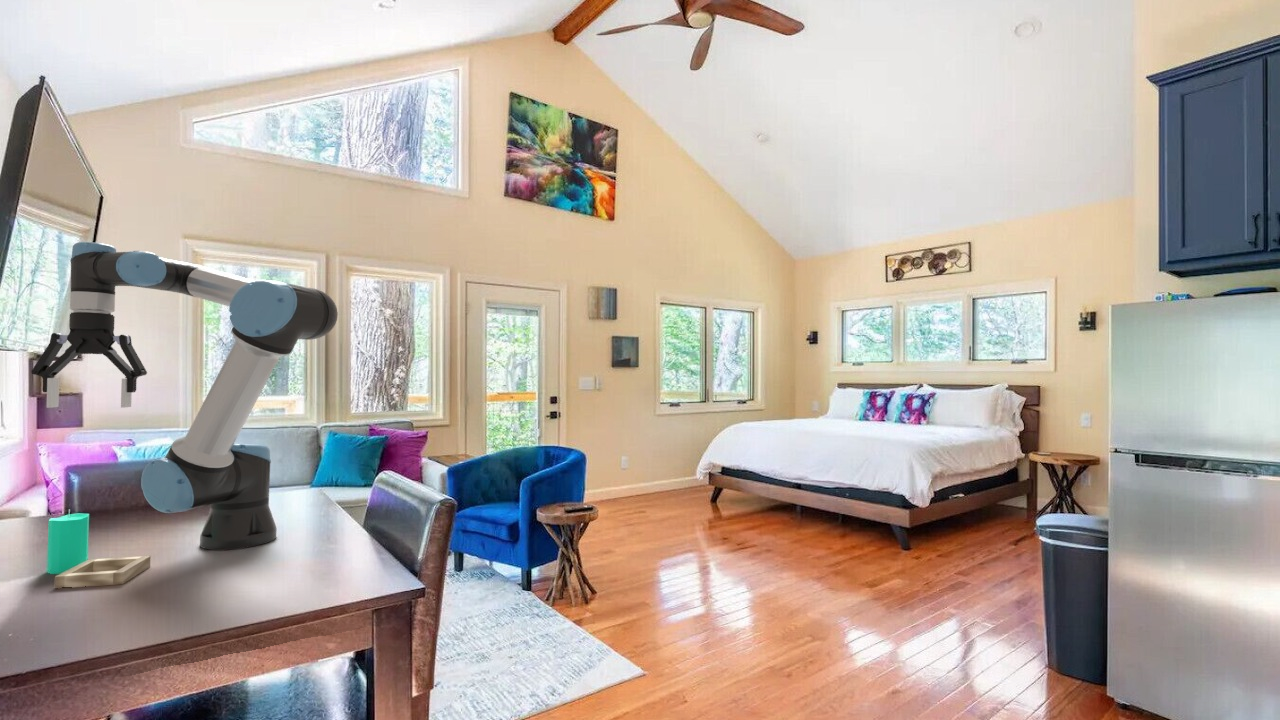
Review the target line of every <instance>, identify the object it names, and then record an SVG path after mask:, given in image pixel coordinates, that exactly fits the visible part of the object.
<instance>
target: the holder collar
mask: <svg viewBox="0 0 1280 720" xmlns="http://www.w3.org/2000/svg"><path fill="white" fill-rule="evenodd" d="M151 557H152V556H151V555H146V556H145V555H144V556H143V555H142V556H125V557H107V558H92V559H89V558H88V560H87V561H85V562H83V563H81V564H79V565H77V566H75V567H73V568H71V569H69V570H67V571H65V572H63V573H61V574H56V575H55V576H54V583H53V584H54V586H53V587H54V588H58V589H63V588H62V587H72V588H83V587H85V586H86V587H97V586H98V587H100V586H101V587H102V586H113V585H114V586H115V585H123V584H125V583H127V582H128V581H129V580H132V579H133V578H135V577H136V576H138V575H139V574H141V573H144V571H146V570H147V569H149V568H150V567H151Z"/></svg>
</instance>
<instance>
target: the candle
mask: <svg viewBox="0 0 1280 720" xmlns="http://www.w3.org/2000/svg"><path fill="white" fill-rule="evenodd" d="M70 512H71V509H68V514H66V515H62V516H59V517H50V518H49V520H48V523H47V524H48V525H47V526H48V527H47V530H48V531H47V556H46V560H47V561H46V573H47V574H49V573H50V574H49V575H59V574H60V573H63V572H65V571H67V570H69V569H71V568H73V567H75V566H77V565H79V564H81V563H83V562H85V561H87V560H89V532H90V530H89V529H90V527H89V525H90V524H89V523H90V513H82V512H81V513H78V512H77V513H71V514H70Z"/></svg>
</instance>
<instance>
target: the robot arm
mask: <svg viewBox="0 0 1280 720" xmlns="http://www.w3.org/2000/svg"><path fill="white" fill-rule="evenodd" d="M71 250H72V251H71V257H70V259H69V260H70V261H69V262H70V294H69V296H70V297H69V310H71V311H73V312H70V313H69V323H68V325H69V333H68V334H64V333H59V332H53V333H51V335H50V338H49V343H48V345H47V346H46V348H45V350H44V351H43V352H42V354H41V355H40V357H39V359H38V360H37V362H36V364H35V365H34V366H33V367H32V369H31V374H33V375H34V376H38V377H39V376H40V377H41V378H42V390H41V391H42V392H43V393H46V408H47V409H52V408H53V409H54V408H59V404H60V401H59V400H60V377H57V375H58V374H59V373H60V372H61V371H62V370H63V369H64V368H66V366H67V365H69V364H70V363H71V362H72V361H73V360H74V359H75V358H76V357H77V356H79V355H81V354H82V355H83V354H84V355H91V354H92V355H102V356H104V357H106V358H107V359H108V360H109V361H110V362H111V363H112V364H113V366H115V367H116V369H118V370H119V371H120V372H121V374H122V375H124V378H121V391H120V393H121V394H120V408H122V409H123V408H131V407H132V394H133V393H136V391H137V381H138V380H137V379H138V378H139V377H142V376H146V375H147V374H148V372H147V370H146V368H145V366H144V363H142V361H141V359H140V357H139V355H138V354H137V352H136V350H135V348H134V346H133V345H132V343H133V342H132V338H131V337H132V336H131V335H129V334H120V335H115V333H114V332H115V318H116V317H115V316H114V314H112V313H114V312H115V311H116V309H115V308H116V306H115V305H116V287H133V288H135V287H136V288H143V289H149V290H158V291H165V292H173V293H177V294H183V295H187V296H189V297H194V298H198V299H202V300H205V301H207V302H213V303H216V304H219V305H223V306H227V307H229V310H228V312H229V313H230V315H229V320H230V323H231V324H232V328H231V335H232V336H233V338H234V339H235V340H234V343H233V345H232V347H231V349H230V351H229V353H228V355H227V356H226V359H225V360H224V362H223V364H222V365H221V368H220V370H219V372H218V374H217V375H216V377H215V379H214V382H213V383H212V385H211V387H210V389H209V391H208V392H207V395H206V397H205V399H204V401H203V402H202V405H201V406H200V408H199V411H198V412H197V414H196V416H195V418H194V420H193V422H192V424H191V425H190V427H189V429H188V432H187V433H186V435H185V436H183V437H179V438H177V439H175V440H174V441H173V442H172V443H171V445H170V448H169V449H168V450H167V454H166V455H165V456H164V457H158V458H155V459H154V460H151V461H150V462H148V463H147V464H146V465H145V467H144V468H143V470H142V473H141V479H140V486H141V490H142V492H143V496H144V498H145V500H146V502H148V504H149V505H150V506H151V507H152V508H153V509H155V510H157V511H158V512H161V513H165V514H173V513H181V512H182V513H185V512H188V511H189V510H194V509H197V508H201V507H206V506H210V507H209V513H208V516H207V518H206V521H205V523H204V525H203V528H202V530H201V533H200V537H199V547H200V548H203V549H207V550H215V551H216V550H218V551H221V550H237V549H243V548H244V549H245V548H251V547H256V546H260V545H262V544H266V543H269V542H272V541H274V540H276V538H277V531H278V529H277V525H276V522H275V519H274V517H273V514H272V511H271V509H270V483H271V482H270V480H271V479H270V476H271V463H272V461H271V451H270V448H269V447H268V446H267V445H265V444H259V443H258V444H256V443H254V444H253V443H249V444H248V443H235V442H236V441H237V438H238V437H239V434H240V432H241V431H242V429H243V427H244V425H245V424H246V421H247V419H248V417H249V416H250V414H251V413H252V410H253V409H254V406H255V404H256V402H257V401H258V399H259V397H260V395H261V394H262V391H263V389H264V387H265V385H266V384H267V382H268V380H269V378H270V377H271V374H272V372H273V370H274V368H275V367H276V365H277V363H278V362H279V359H280V358H281V357H282V358H283V357H286V356H288V355H290V354H292V352H293V350H294V348H295V346H296V344H297V343H298V340H306V341H307V340H310V341H311V340H316V339H320V338H322V337H324V336H327V335H329V333H331V331H332V330H333V329H334V328H335V326H336V324H337V321H338V315H339V311H338V308H337V305H336V303H335V301H334V300H333V298H331V296H329V295H328V294H327V293H325V292H324V291H322V290H320V289H318V288H317V289H316V288H313V287H307V286H302V285H298V284H292V283H286V282H283V281H281V280H275V279H272V280H268V279H267V280H266V279H258V280H254V279H250V278H247V277H246V278H245V277H242V276H239V275H235V274H232V273H228V272H224V271H220V270H216V269H212V268H209V267H207V266H203V265H201V264H199V263H193V262H185V261H181V260H180V261H179V260H174V259H168V258H164V257H160V256H159V255H157V254H156V253H153V252H150V251H140V250H132V251H117V249H116V247H115V246H113V245H110V244H106V243H99V242H92V241H91V242H90V241H88V242H87V241H79V242H75V243H74V244H73V245H72V248H71ZM67 341H68V343H69V344H70V345H69V347H67V348H66V349H65V351H64V353H62V354H61V355H60V356H59V357H58V358H57V359H56V357H57V356H58V355H59V352H60V350H61V349H62V348H63V346H64V344H66V343H67ZM115 342H116V343H117V345H119V346H120V348H121V350H122V352H123V354H124V356H125V357H126V360H127V361H128V362H129V364H128V363H127V362H126V360H124V359H123V358H122V357H121V355H119V354H118V352H117V351H116V350H115V348H114V347H113V344H115ZM55 359H56V360H55ZM54 360H55V361H54ZM53 361H54V362H53Z"/></svg>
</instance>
